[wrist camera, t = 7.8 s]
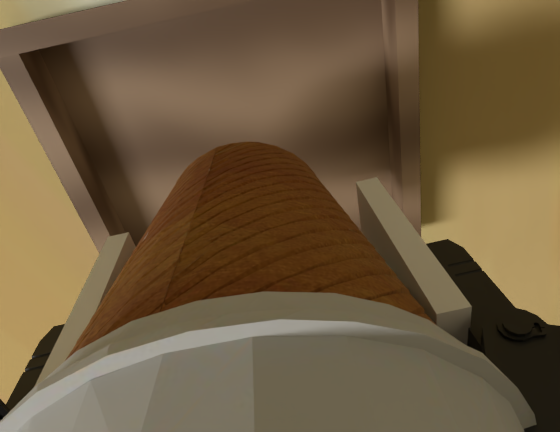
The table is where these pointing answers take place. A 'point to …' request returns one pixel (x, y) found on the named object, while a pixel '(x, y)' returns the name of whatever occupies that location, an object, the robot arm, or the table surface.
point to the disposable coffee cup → (264, 324)
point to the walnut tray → (219, 96)
